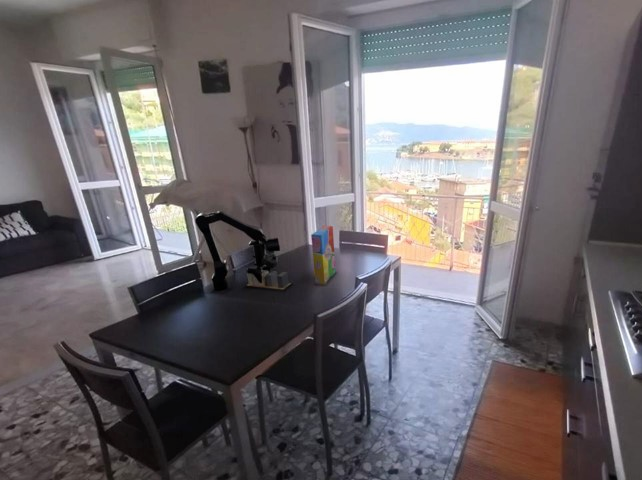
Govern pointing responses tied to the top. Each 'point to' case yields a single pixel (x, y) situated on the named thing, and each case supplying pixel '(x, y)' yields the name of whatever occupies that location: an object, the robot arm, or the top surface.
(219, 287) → the robot arm
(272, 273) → the grey book
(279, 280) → the grey book
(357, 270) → the top surface
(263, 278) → the cream book
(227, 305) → the top surface
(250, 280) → the cream book
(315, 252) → the game box
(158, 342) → the top surface
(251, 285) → the book stand
